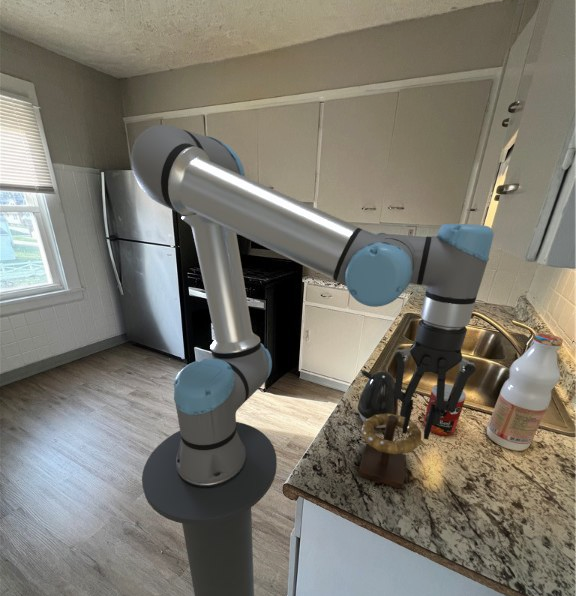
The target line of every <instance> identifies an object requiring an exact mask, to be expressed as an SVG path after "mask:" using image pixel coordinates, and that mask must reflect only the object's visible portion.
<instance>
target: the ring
mask: <svg viewBox="0 0 576 596" xmlns="http://www.w3.org/2000/svg"><path fill="white" fill-rule="evenodd" d="M390 415H392V416H395V417H397V418H398V421H397V426H396V427H398V428H400V429H402V430H403V424H404V419H405V417H402V416H400V414H397V415H394V414H379V415H374V416H372V417H370V418H369V419H367V420H365V421H364V422H363V423H362V426H361V429H360V433H361V436H362V438H363V440H364V441H365V443H366V444H368V445H370V446H372V447H373V448H375V449H377V450H378V451H380V452H385V453H390V454H408V453H409V454H410V453H412V452H413V451H414V450H416V449H417V448H418V447H419V446H420V445H421V444H422V430H421V428H419V427H418V425H417V424H416V423H415V422H414V421H413V420H411V419H410V420H409V424H408V428H407V432H406V434H408V437H406V438H405V439H402V440H395V441H394V440H393V441H389V440H384V439H383V437H380V436H378V435H377V434H375V432H374V430H375V429H377V428H376V427H377V426H381V425H386V423H387V418H388V416H390Z"/></svg>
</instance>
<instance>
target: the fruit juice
mask: <svg viewBox="0 0 576 596" xmlns="http://www.w3.org/2000/svg"><path fill="white" fill-rule="evenodd" d="M563 343H564V340H563V338H561V337H559V336H557V335H554V334H549V333H545V332H543V333H541V332H539V333H536V334H535V335H534V337H533V339H532V344H531V346H529V348H528V349H526V351H525V352H524V353H523V354H522V355H521V356H520V357H518V358H517V359H515V360H514V361H513V362H512V363H511V365H510V367H509V376H508V378H507V380H505V382H504V383H503V385H502V387H501V389H500V392H499V395H498V397H497V400H496V403H495V405H494V408H493V410H492V414H491V416H490V419H489V421H488V424H487V427H486V434H487V437H488V438H489V439H490V440H491V441H492V442H494V443H495V444H496V445H498V446H500V447H502V448H505V449H507V450H511V451H517V452H518V451H525V450H527V449H528V448H529V447H530V446H531V444H532V442H533V440H534V437H535V436H536V433H537V431H538V429H539V427H540V424H541V423H542V421H543V418H544V416H545V414H546V412H547V410H548V408H549V405H550V404H551V400H552V390H553V389H554V388H555V387H556V386H557V385H558V383H559V382H560V380H561V371H560V368H559V365H558V364H559V363H558V349H560V348H561V346H562V345H563Z"/></svg>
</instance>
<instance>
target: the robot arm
mask: <svg viewBox="0 0 576 596" xmlns="http://www.w3.org/2000/svg"><path fill="white" fill-rule="evenodd" d="M130 156H131V157H130V158H131V159H130V160H131V161H130V163H131V169H132V174H133V175H134V178H135V180H136V182H137V184H138V186H139V187H140V189H141V191H143V192H144V193H145V194H146V195H147V196H148V197H149V198H150V199H151V200H153V201H154V202H156V203H158V204H160V205H162V206H164V207H166V208H168V209H170V210H172V211H174V212H176V213H178V214H180V217H181V220H182V221H183V222H185V223H186V224H188V225H189V227H191V230H192V231H191V232H192V235H193V239H194V240H193V241H194V245H195V249H196V254H197V259H198V263H199V268H200V273H201V279H202V282H203V286H204V292H205V296H206V302H207V305H208V310H209V315H210V320H211V325H212V329H213V334H214V340H213V341H212V343H211V344H210V346H209V347H210V348H209V349H210V353H211V357H212V358H203V359H201V360H200V361H199V360H195V361H193V362H191V363H189V364H186V366H184V367H182V368H181V369H180V371H179V372H178V373H177V374H176V376H175V378H174V381H173V391H174V392H173V399H174V400H173V401H174V404H175V409H176V414H177V420H178V427H179V431H180V433H181V442H180V446H179V450H178V454H177V458H176V467H177V473H178V475H179V477H180V478H181V480H182V481H184V482H185V483H186V484H188V485H190V486H193V487H197V488H213V487H218V486H221V485H224V484H226V483H228V482H230V481H231V480H233V479H234V478H236V477H237V476H238V475H239V474H240V472H241V471H242V470H243V468H244V466H245V462H246V451H245V447H244V444H243V442H242V441H241V440H240V437H239V435H238V432H237V430H236V422H237V411H238V410H239V409H240V408H241V407H242V406H243V405H244V404H245V403H246V402H247V401H248V400H249V399H250V398H251V397H252V396H253V395H254V394H255V393H256V392H257V391H258V390H259V389H260V388H262V386H263V385H264V384H265V383H266V382H267V379H268V378H269V377H270V375H271V373H272V368H273V361H272V356H271V353H270V351H269V350H268V349H267V348H266V347H265V345H264V344H263V343H261V338H260V336H258V335H257V334H255V333H254V332H253V329H252V321H251V316H250V310H249V309H250V308H249V303H248V297H247V291H246V285H245V279H244V272H243V267H242V260H241V255H240V249H239V248H240V247H239V243H238V242H239V241H238V236H237V235H240V236H242V237H244V238H245V239H248V240H250V241H252V242H253V243H256V244H258V245H260V246H263V247H264V248H266V249H269V250H270V251H273V252H275V253H276V254H279V255H281V256H283V257H285V258H287V259H289V260H291V261H293V262H295V263H297V264H299V265H302V266H303V267H306V268H307V269H310V270H312V271H313V272H316V273H319V274H320V275H322V276H325V277H327V278H329V279H331V280H333V281H335V282H336V283H338V284H341V285H342V286H345V287H346V288H347V291H348V292H349V294H350V295H351V297H352V298H353V299H354V300H355V301H357V302H358V303H359V304H361V305H363V306H367V307H372V308H377V307H378V308H379V307H383V306H387V305H389V304H391V303H393V302H395V301H396V300H397V299H398V298H399V297H400V296H401V295H402V294H403V292H404V291H406V290H407V289H408V287H409V285H410V284H411V285H418V286H422V285H423V286H426V290H425V294H424V298H423V303H422V307H421V312H420V318H421V319H420V320H419V321H418V326H417V329H416V334H415V339H414V342H413V343H412V344H411V345H410V347H409V348H408V347H407V348H404V349H402V347H398V348H396V351H395V355H394V357H395V361H396V364H397V366H396V374H395V390H394V399H396V400H398V401H400V402H401V407H400V409H399V410H400V411H399V415H400V416H402V417H405V419H404V424H403V429H402V430H401V433H402V434H405V435H406V434H407V428H408V424H409V420H411V416H412V412H413V406H414V399H412V398H413V396H414V394H415V392H416V390H417V388H418V386H419V384H420V382H421V379H422V378H423V376H424V374H425V373H433V374H435V375H436V385H437V392H436V406H435V405H434V404H431V407H430V410H429V414H428V418H427V422H426V425H424V428H423V439H425V440H427V441H428V440H429V438H430V434H431V427H432V424H435V425H438V424H439V422H440V418H441V415H442V414H443V411H449V412H453V411H455V408H456V406H457V404H458V401H459V399H460V396H461V394H462V392H463V391H464V389H465V386H466V384H467V382H468V379H469V378H470V377H471V376H472V375H473V374H474V373H475V372H476V369H477V368H476V365H475V362H474V360H467V359H466V358H464V357H463V353H462V349H463V345H464V342H465V340H466V334H467V332H468V329H467V327H468V326H469V325H470V322H471V319H472V314H473V311H474V308H475V303H476V300H477V297H478V293H479V290H480V287H481V284H482V281H483V278H484V275H485V271H486V268H487V265H488V263H489V260H490V252H491V248H492V244H493V238H494V230H493V228H491V227H490V226H487V225H482V224H481V225H480V224H469V223H444V224H442V225H441V226H440V227H439V231H438V232H437V234H436V235H432V236H419V235H407V234H395V233H385V232H376V233H375V232H374V233H373V232H371V231H368V230H365V229H362V228H360V227H359V226H357V225H354V224H352V223H350V222H348V221H345V220H343V219H341V218H339V217H336V216H335V215H332V214H329V213H327V212H326V211H323V210H321V209H319V208H316V207H314V206H311V205H309V204H307V203H305V202H303V201H301V200H298V199H296V198H293V197H291V196H289V195H287V194H285V193H282V192H281V191H279V190H276V189H273V188H271V187H269V186H267V185H264V184H262V183H260V182H259V181H258V182H257V181H255V180H253V179H251V178H249V177H247V176H246V175H245V169H244V166H243V163H242V161H241V159H240V157H239V155H238V154H237V152H235V150H234V149H233V148H232V147H230V146H229V145H227V143H225V142H223V141H221V140H219V139H217V138H215V137H212V136H209V135H202V134H199V133H195V132H193V131H190V130H186V129H184V128H183V129H182V128H180V127H177V126H174V125H171V124H155V125H153V126H150V127H148V128H146V129H145V130H143V131H142V132H141V133H140V134H139V135H138V136H137V138H136V139H135V141H134V143H133V145H132V150H131V154H130ZM409 356H411V357H412V359H413V362H414V363H415V364H416V366H415V369H414V371H413V374H412V376H411V378H410V380H409V382H408V384H407V387H406V389H405V391H402V389H403V381H404V374H405V373H404V372H405V365H406V362H407V361H409ZM457 365H458V373H457V375H456V378H455V380H454V383H453V388H452V390H451V393H450V395H449V398H448V400H447V401H444V391H445V384H446V377H447V372H448V371H450V370H452V369H453V368H454V367H456V366H457Z"/></svg>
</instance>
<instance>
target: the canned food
mask: <svg viewBox="0 0 576 596" xmlns="http://www.w3.org/2000/svg"><path fill="white" fill-rule="evenodd" d="M453 385H454V384H453ZM453 385H452V384H449V383H448V384H447V383H445V391H444V401H447V400H448V398H449V395H450V393H451V390H452V388H453ZM436 392H437V384H434V385H433V387H432V389H431V391H430V395H429V399H428V402H427V407H426V411H425V415H424V419H423V424H424V426H425V425H426V422H427V418H428V414H429V410H430V407H431V404H434V405H435V406H436ZM466 396H467V394H466V392H465V391H464V390H463V392H462V394H461V396H460V399H459V401H458V404H457V406H456V408H455V411H453V412H449V411H443V414H442V415H441V418H440V422H439V424H438V425H435V424H432V427H431V431H430V433H434V434H435V435H439V436H450V435H452V434H453V433H454V432H455V431H456V428H457V426H458V422H459V418H460V416H461V413H462V411H463V407H464V404H465V401H466Z"/></svg>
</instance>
